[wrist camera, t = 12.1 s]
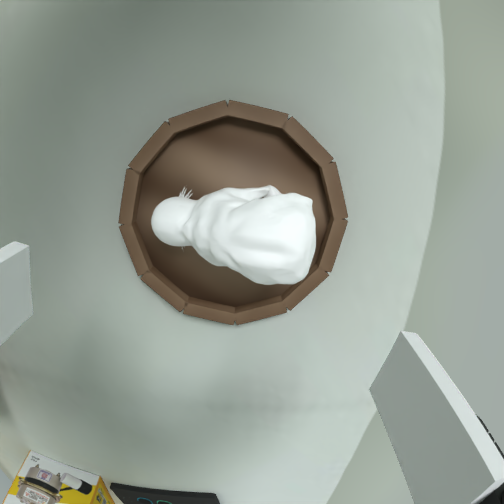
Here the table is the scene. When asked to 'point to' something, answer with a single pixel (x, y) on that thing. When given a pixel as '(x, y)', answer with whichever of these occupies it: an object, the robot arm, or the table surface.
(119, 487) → the smart home device
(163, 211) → the white piece
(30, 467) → the packaging box
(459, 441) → the robot arm
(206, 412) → the table surface
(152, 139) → the coaster
